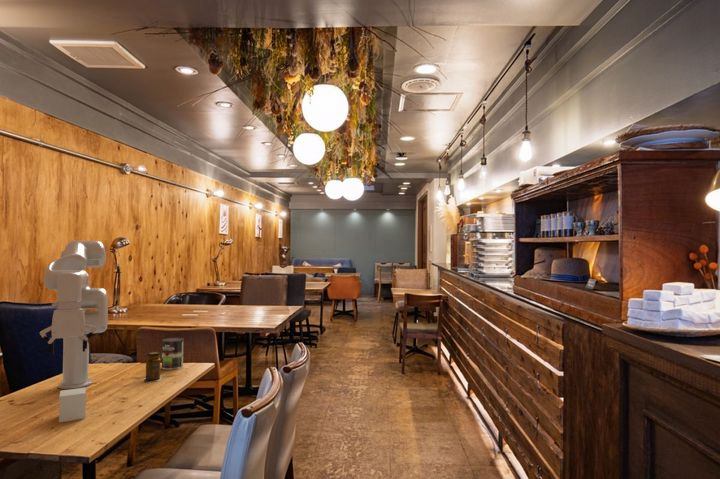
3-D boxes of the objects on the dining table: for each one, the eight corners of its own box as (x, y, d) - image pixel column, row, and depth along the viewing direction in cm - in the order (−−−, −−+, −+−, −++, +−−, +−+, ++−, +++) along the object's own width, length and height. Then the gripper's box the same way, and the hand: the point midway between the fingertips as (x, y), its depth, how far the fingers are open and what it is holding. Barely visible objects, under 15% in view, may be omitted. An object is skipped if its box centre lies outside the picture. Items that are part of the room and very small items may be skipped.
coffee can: (176, 370, 221) (176, 341, 221) (157, 369, 222) (157, 340, 223) (187, 365, 231) (187, 337, 231) (169, 364, 233) (169, 337, 233)
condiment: (160, 376, 210) (161, 350, 210) (161, 381, 202) (162, 354, 203) (143, 378, 207) (144, 352, 207) (143, 383, 199) (144, 356, 199)
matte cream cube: (60, 415, 159) (60, 390, 159) (85, 411, 163) (85, 387, 163) (58, 422, 152) (59, 396, 153) (85, 418, 156) (85, 393, 157)
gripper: (39, 308, 155) (38, 357, 155) (96, 305, 164) (96, 351, 165) (40, 305, 162) (40, 352, 162) (96, 302, 171) (95, 347, 171)
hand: (68, 352), depth 163 cm, fingers open, 9 cm apart
